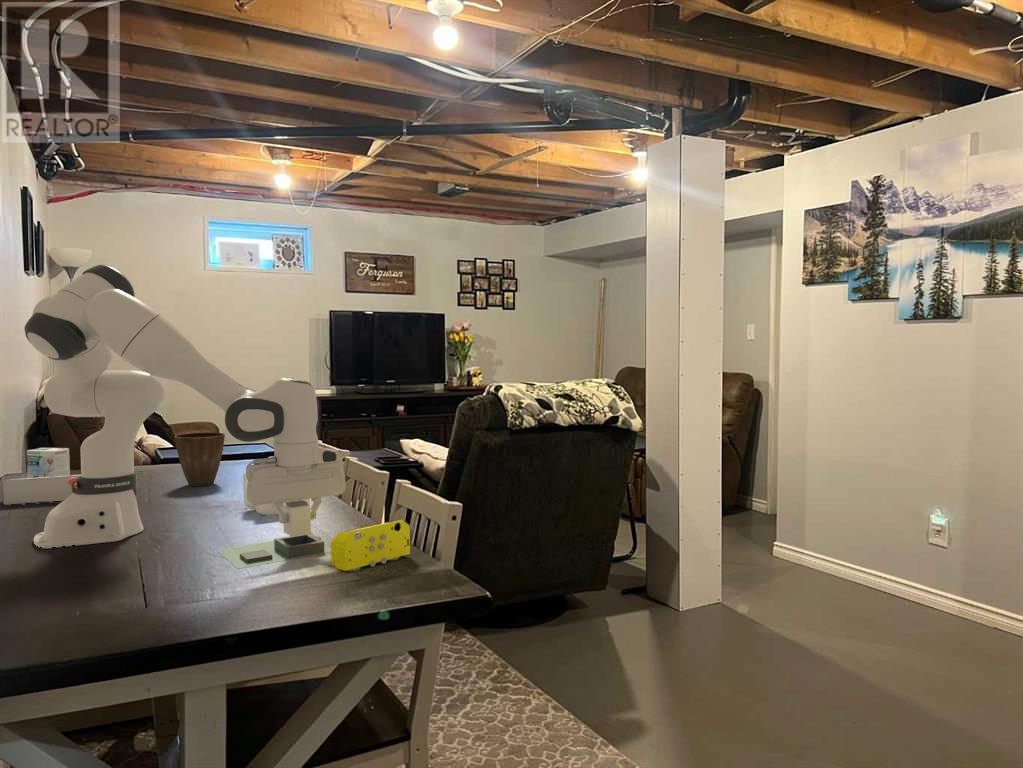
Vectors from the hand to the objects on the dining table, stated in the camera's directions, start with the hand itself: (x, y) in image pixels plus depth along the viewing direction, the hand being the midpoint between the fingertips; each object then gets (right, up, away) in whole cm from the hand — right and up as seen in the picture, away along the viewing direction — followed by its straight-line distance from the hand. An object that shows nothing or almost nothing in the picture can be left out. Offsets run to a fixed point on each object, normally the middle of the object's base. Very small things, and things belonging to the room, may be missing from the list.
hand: (297, 520), depth 154 cm
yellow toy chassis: (+16, -8, -3) cm, 19 cm away
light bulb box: (-109, -4, +90) cm, 141 cm away
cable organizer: (-19, -6, +45) cm, 49 cm away
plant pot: (-55, -4, +83) cm, 100 cm away
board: (-5, -8, +1) cm, 9 cm away
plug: (0, -3, 0) cm, 3 cm away
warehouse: (-87, -5, +65) cm, 108 cm away
